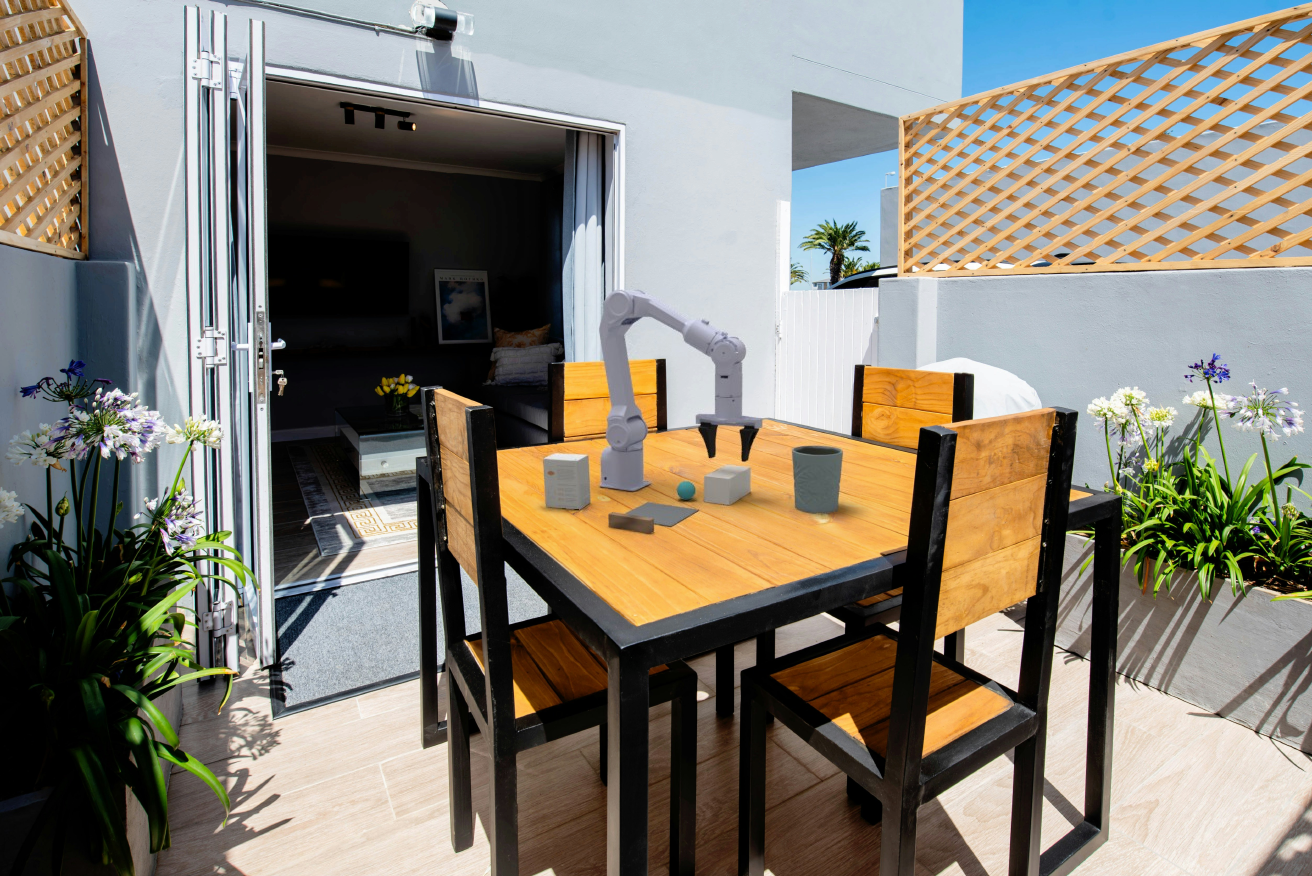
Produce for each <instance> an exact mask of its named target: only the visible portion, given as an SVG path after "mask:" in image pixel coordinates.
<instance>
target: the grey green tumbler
mask: <svg viewBox="0 0 1312 876" xmlns="http://www.w3.org/2000/svg"><path fill="white" fill-rule="evenodd" d="M843 457H844V451H843V449H842V448H838V447H835V446H828V445H827V446H826V445H801V446H796V447H793V448H792V450H791V458H792V460H791V461H792V473H793V475H792V476H793V490H794V491H793V493H794V508H795V509H796V508H797V509H796V510H798V511H800V510H801V511H800V512H803V511H804V513H809V514H816V513H823V514H830V513H834V512H836V511H837V510H838V508H839V498H840V496H839V495H840V488H841V485H840V484H841V479H842V467H843V466H842V465H843Z"/></svg>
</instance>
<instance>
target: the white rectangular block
mask: <svg viewBox="0 0 1312 876" xmlns="http://www.w3.org/2000/svg"><path fill="white" fill-rule="evenodd" d="M751 469H752V468H751V466H742V465H733V464H725V465H723V466H721V467H720V468H717V469H715V470H713V471H712V472H710V473H709V472H708V474H705V475H703V476H704V477H703V503H709V504H710V503H711V504H719V505H723V504H724V505H725V506H730V505H732V504H733V502H734V503H736V502H737V501H738V500H740V499H741V498H744V497H745V496H746V495H748V494H749V493H751V485H752V484H751V483H752V482H751V478H752V476H751V474H752V472H751V471H752V470H751ZM736 500H737V501H736Z"/></svg>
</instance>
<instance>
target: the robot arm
mask: <svg viewBox="0 0 1312 876" xmlns="http://www.w3.org/2000/svg"><path fill="white" fill-rule="evenodd" d="M602 307H603V313H602V316H601V320H600V323H599V328H598V333H599V338H600V346H601V350H602V351H601V352H602V356H603V362H604V363H603V364H604V370H605V374H606V375H605V376H606V381H607V389H608V395H609V400H610V405H611V407H610V410H609V413H608V414H607V417H606V421H607V425H606V426H607V427H606V431H605V438H606V442H607V444H608V446H606V447H605V448H603V450H602V452H601V454H600V483H599V487H602V488H606V489H607V488H609V489H616V490H621V491H630V492H635V491H638V490H640V489H642V488H644V487H646V486H648V485H651V484H652V481H649V480H645V478H644V477H645V474H644V473H645V472H644V471H645V470H644V468H645V467H644V466H645V465H644V440H645V439H647V436H648V431H649V427H648V425H647V422H646V420H645V419H644V418H643V417H644V416H643V415H642V414H643V412H642V410H641V408H640V407H638V405H637V404H636V400H635V395H634V394H635V393H634V388H633V387H634V386H633V383H632V381H633V380H632V377H631V376H632V375H631V370H630V369H631V368H630V362H629V356H628V350H627V344H626V338H625V337H626V336H625V335H626V334H627V332H628V331H629V330H630V328H631V327H632V326H633V324H635V323H636V322H638V321H640V320H641V319H643V318H653V319H654V320H656V321H657V322H660V323H662V324H663V325H665V326H667V327H669V328H671V329H673V330H675V331H676V332H678V333H680V334H681V335H682V338H683V342H685V344H688V345H689V346H690V347H692V348H694V349H696V350H697V351H699V352H701V353H702V354H704V355H705V356H707V357H709V358H710V359H711V361H712V362H713V364H714V365H715V366H714V367H715V369H714V413H697V414H696V415H695V424H696V425H699V426H698V427H697V430H698V432H699V434H700V436H701V438H702V439H703V442H704V444H705V448H706V453H707V457H708V459H714V458H715V457H716V454H717V453H716V452H717V447H716V446H717V445H716V444H717V442H716V440H717V433H718V427H719V426H729V427H732V426H733V427H742V428H741V429H739V436H740V444H741V450H740V451H741V452H740V453H741V454H740V455H741V457H740V458H741V459H740V460H741V462H743V463H745V462H747V461H749V457H750V453H751V450H752V447H753V443H754V442H755V439H756V437H757V435H758V433H759V431H760V429H761V428H763V418H762V417H756V416H754V417H753V416H748V415H743V360H744V359H745V357H746V355H747V349H746V345H745V344H744V342H743V341H742V340H740V339H739V337H737V336H729V337H728V335H729V332H727V331H726V330H723V331H720V330H719V329H718V328H716V327H714V326H712V325H710V320H708V319H707V318H702V319H700V318H695V319H692V320H691V319H689V318H687V317H686V316H684V315H682V314H681V313H679V312H678V311H676V310H675V309H673V308H672V307H670V306H669V305H668V304H666V303H664V302H663V301H661V300H660V299H658V298H657V297H655V296H653V295H651V294H649V293H646V292H644V291H643V290H642V289H633V290H630V289H629V290H628V289H627V290H626V289H625V290H624V289H615V290H613V291H611V293H609V294H608V296H607V297H606V298H605V299H604V300H603V301H602Z"/></svg>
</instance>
